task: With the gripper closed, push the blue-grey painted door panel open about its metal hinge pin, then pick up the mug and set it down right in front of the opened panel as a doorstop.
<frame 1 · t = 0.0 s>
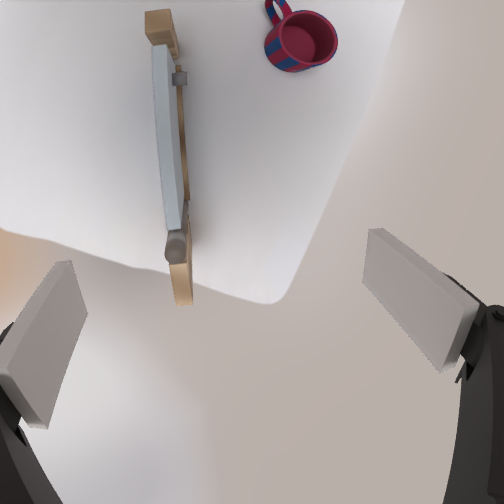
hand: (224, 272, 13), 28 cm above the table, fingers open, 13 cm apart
door: (176, 132, 30), point 7 cm above the table, hinge at 0.0°
mug: (284, 37, 33), on the table
doorframe: (180, 204, 40), on the table
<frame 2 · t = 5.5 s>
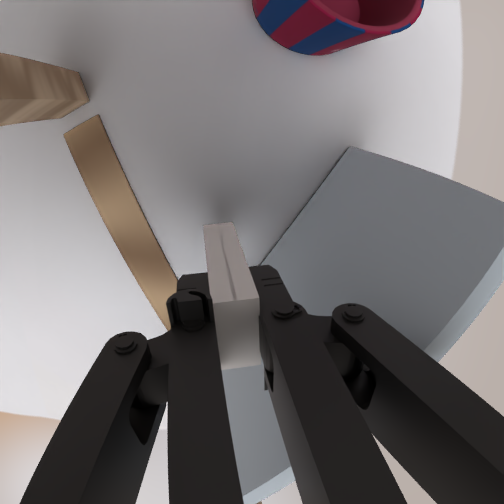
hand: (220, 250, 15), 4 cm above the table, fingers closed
door: (322, 316, 15), point 7 cm above the table, hinge at 55.9°, touching hand
doorframe: (200, 351, 23), on the table
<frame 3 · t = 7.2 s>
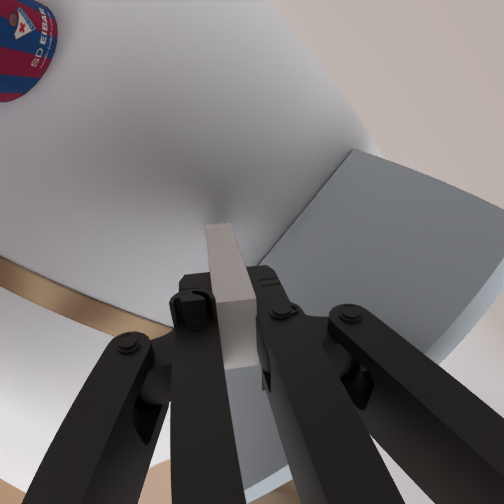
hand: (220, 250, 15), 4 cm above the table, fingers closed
door: (320, 318, 15), point 7 cm above the table, hinge at 100.5°, touching hand
doorframe: (195, 348, 23), on the table
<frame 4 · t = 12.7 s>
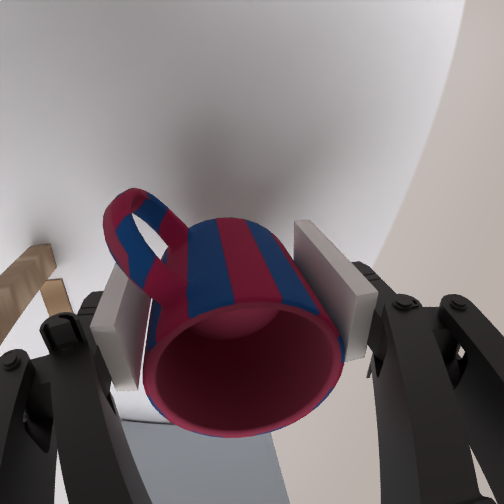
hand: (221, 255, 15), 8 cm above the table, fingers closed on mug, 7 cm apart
door: (198, 480, 25), point 7 cm above the table, hinge at 100.5°
mug: (208, 254, 15), point 8 cm above the table, touching gripper
doorframe: (109, 420, 29), on the table
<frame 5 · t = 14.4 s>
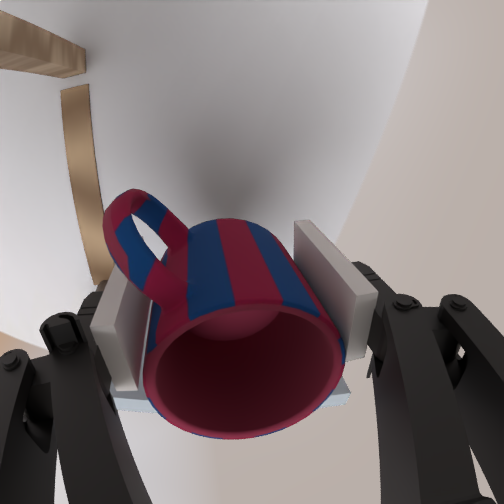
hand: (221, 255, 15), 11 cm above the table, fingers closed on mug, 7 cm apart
door: (216, 348, 23), point 7 cm above the table, hinge at 100.5°
mug: (208, 254, 15), point 11 cm above the table, touching gripper
doorframe: (107, 287, 27), on the table
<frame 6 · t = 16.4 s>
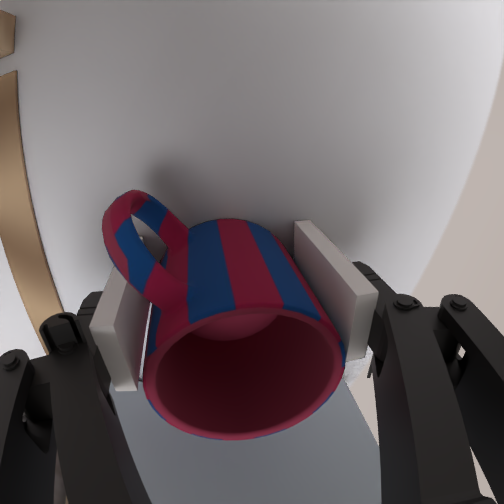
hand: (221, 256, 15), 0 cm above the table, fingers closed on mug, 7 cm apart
door: (237, 484, 13), point 7 cm above the table, hinge at 100.5°
mug: (208, 255, 15), on the table, touching gripper
doorframe: (75, 377, 17), on the table
when the fingers open (0 cm above the table, at t = 16.9 s): mug stays where it is, on the table.
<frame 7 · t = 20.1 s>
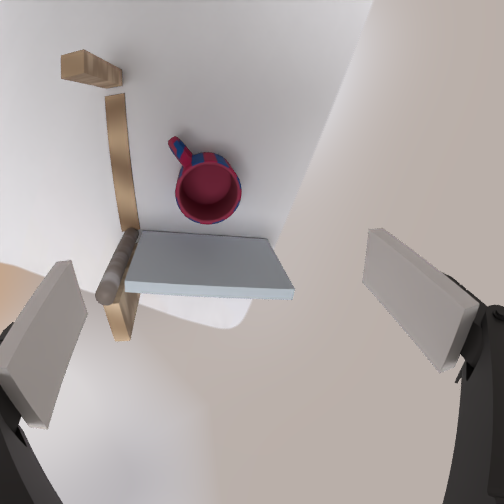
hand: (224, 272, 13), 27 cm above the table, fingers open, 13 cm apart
door: (206, 267, 35), point 7 cm above the table, hinge at 100.5°
mug: (199, 167, 38), on the table
doorframe: (131, 233, 39), on the table
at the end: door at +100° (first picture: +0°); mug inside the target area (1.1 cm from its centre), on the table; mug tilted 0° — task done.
